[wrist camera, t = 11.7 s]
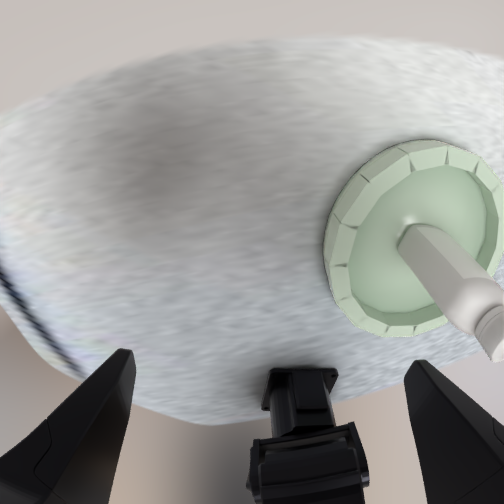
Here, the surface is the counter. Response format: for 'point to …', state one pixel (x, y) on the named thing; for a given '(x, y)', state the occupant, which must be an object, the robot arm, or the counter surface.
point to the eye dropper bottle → (457, 285)
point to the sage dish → (396, 225)
